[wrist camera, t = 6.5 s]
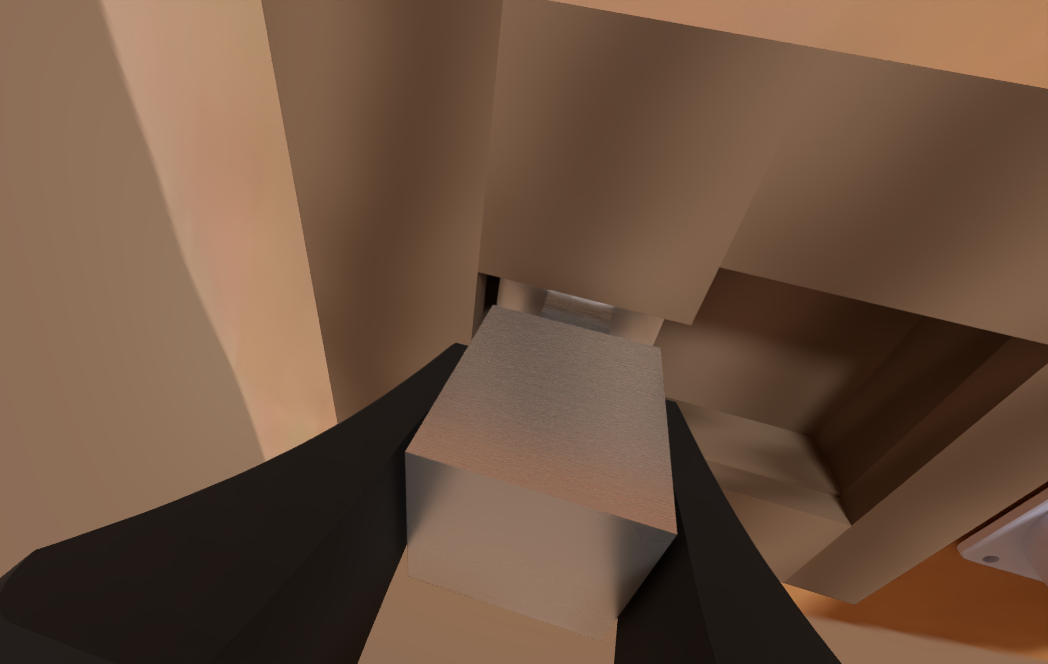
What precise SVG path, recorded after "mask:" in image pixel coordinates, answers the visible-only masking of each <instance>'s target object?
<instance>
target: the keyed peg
mask: <svg viewBox="0 0 1048 664" xmlns="http://www.w3.org/2000/svg"><path fill="white" fill-rule="evenodd" d="M663 321H664V319H663V318H659V317H655V316H651V315H647V314H643V313H639V312H635V311H631V310H627V309H623V308H619V307H615V306H611V305H607V304H603V303H599V302H595V301H591V300H587V299H584V298H580V297H576V296H572V295H568V294H564V293H560V292H556V291H552V290H548V289H544V288H540V287H536V286H532V285H528V284H524V283H520V282H516V281H512V280H508V279H504V278H500V284H499V291H498V298H497V306H496V305H493V306H492V307H491V309H490V311H489V312H488V314H487V316H486V317H485V319H484V321H483V322H482V324H481V326H480V327H479V329H478V331H477V332H476V334H475V336H474V337H473V339H472V341H471V342H470V344H469V346H468V347H467V349H466V351H465V352H464V354H463V356H462V357H461V359H460V361H459V362H458V364H457V366H456V367H455V369H454V371H453V372H452V374H451V376H450V377H449V379H448V381H447V382H446V384H445V386H444V388H443V389H442V391H441V393H440V394H439V396H438V398H437V399H436V401H435V403H434V404H433V406H432V408H431V409H430V411H429V413H428V414H427V416H426V418H425V419H424V421H423V423H422V424H421V426H420V428H419V429H418V431H417V433H416V434H415V436H414V438H413V439H412V441H411V443H410V444H409V446H408V448H407V449H406V451H405V468H406V510H407V548H408V549H407V550H408V551H407V552H408V576H409V577H411V578H414V579H417V580H420V581H423V582H426V583H429V584H432V585H435V586H438V587H441V588H444V589H447V590H450V591H453V592H456V593H459V594H462V595H465V596H468V597H471V598H474V599H477V600H480V601H483V602H486V603H489V604H492V605H495V606H498V607H501V608H504V609H507V610H510V611H513V612H516V613H519V614H521V615H524V616H528V617H530V618H533V619H536V620H539V621H542V622H545V623H549V624H551V625H554V626H557V627H560V628H563V629H566V630H569V631H572V632H575V633H578V634H581V635H584V636H587V637H590V638H593V639H596V640H599V641H601V640H602V638H603V637H604V636H605V634H606V633H607V631H608V630H609V629H610V627H611V626H612V624H613V623H614V621H615V620H616V619H617V618H618V616H619V615H620V613H621V612H622V611H623V609H624V608H625V606H626V605H627V604H628V602H629V601H630V599H631V598H632V597H633V595H634V594H635V592H636V591H637V590H638V588H639V587H640V586H641V584H642V583H643V581H644V580H645V579H646V577H647V576H648V574H649V573H650V572H651V570H652V569H653V567H654V566H655V565H656V563H657V562H658V560H659V559H660V558H661V556H662V555H663V553H664V552H665V551H666V549H667V548H668V546H669V545H670V544H671V542H672V541H673V539H674V538H675V537H676V535H677V526H676V515H675V504H674V493H673V482H672V470H671V459H670V448H669V437H668V426H667V415H666V404H665V393H664V382H663V370H662V359H661V348H659V347H655V346H653V344H654V342H655V340H656V337H657V335H658V333H659V330H660V328H661V326H662V323H663Z"/></svg>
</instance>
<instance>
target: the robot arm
mask: <svg viewBox="0 0 1048 664" xmlns="http://www.w3.org/2000/svg"><path fill="white" fill-rule="evenodd" d="M467 347H468V346H467V345H464V344H460V343H454V344H452V345H451V346H449V347H448V348H447V349H446V350H444V351H443V352H442V353H441V354H439V355H438V356H437V357H436V358H434V359H433V360H432V361H430V362H429V363H428V364H426V365H425V366H424V367H422V368H421V369H420V370H418V371H417V372H416V373H414V374H413V375H412V376H410V377H409V378H408V379H406V380H405V381H403V382H402V383H400V384H399V385H398V386H396V387H395V388H393V389H392V390H391V391H389V392H388V393H386V394H385V395H383V396H382V397H380V398H379V399H377V400H376V401H374V402H372V403H371V404H369V405H368V406H366V407H365V408H363V409H362V410H360V411H358V412H357V413H355V414H354V415H352V416H350V417H349V418H347V419H346V420H344V421H342V422H340V423H339V424H337V425H335V426H334V427H332V428H330V429H328V430H327V431H325V432H323V433H321V434H319V435H317V436H316V437H314V438H312V439H310V440H308V441H306V442H304V443H303V444H301V445H299V446H297V447H295V448H293V449H291V450H289V451H287V452H285V453H283V454H281V455H278V456H276V457H274V458H272V459H270V460H268V461H266V462H264V463H262V464H260V465H258V466H256V467H254V468H251V469H249V470H247V471H245V472H243V473H240V474H238V475H236V476H234V477H232V478H229V479H226V480H224V481H222V482H219V483H217V484H214V485H212V486H210V487H207V488H205V489H202V490H200V491H198V492H195V493H193V494H190V495H188V496H185V497H183V498H181V499H178V500H176V501H173V502H171V503H168V504H165V505H163V506H160V507H158V508H155V509H152V510H150V511H147V512H145V513H142V514H139V515H136V516H134V517H130V518H128V519H125V520H122V521H119V522H116V523H113V524H110V525H108V526H105V527H102V528H99V529H96V530H93V531H91V532H87V533H85V534H82V535H79V536H76V537H73V538H71V539H67V540H64V541H61V542H59V543H56V544H52V545H50V546H47V547H43V548H40V549H37V550H35V551H33V552H32V553H31V554H30V555H28V556H27V557H26V558H24V559H23V560H22V561H21V562H19V563H18V564H17V565H16V566H14V567H13V568H12V569H11V570H10V571H9V572H7V573H6V574H5V575H3V576H2V577H1V578H0V664H358V661H359V659H360V656H361V654H362V651H363V649H364V646H365V643H366V641H367V638H368V636H369V633H370V631H371V629H372V626H373V624H374V621H375V619H376V617H377V614H378V612H379V609H380V607H381V604H382V602H383V599H384V597H385V595H386V592H387V590H388V587H389V585H390V582H391V580H392V578H393V576H394V573H395V571H396V569H397V566H398V564H399V561H400V559H401V557H402V554H403V552H404V550H405V547H406V545H407V510H406V468H405V451H406V449H407V448H408V446H409V444H410V443H411V441H412V439H413V438H414V436H415V434H416V433H417V431H418V429H419V428H420V426H421V424H422V423H423V421H424V419H425V418H426V416H427V414H428V413H429V411H430V409H431V408H432V406H433V404H434V403H435V401H436V399H437V398H438V396H439V394H440V393H441V391H442V389H443V388H444V386H445V384H446V382H447V381H448V379H449V377H450V376H451V374H452V372H453V371H454V369H455V367H456V366H457V364H458V362H459V361H460V359H461V357H462V356H463V354H464V352H465V351H466V349H467ZM665 404H666V415H667V426H668V437H669V448H670V459H671V470H672V482H673V493H674V504H675V515H676V526H677V535H676V537H675V538H674V539H673V541H672V542H671V544H670V545H669V546H668V548H667V549H666V551H665V552H664V553H663V555H662V556H661V558H660V559H659V560H658V562H657V563H656V565H655V566H654V567H653V569H652V570H651V572H650V573H649V574H648V576H647V577H646V579H645V580H644V581H643V583H642V584H641V586H640V587H639V588H638V590H637V591H636V592H635V594H634V595H633V597H632V598H631V599H630V601H629V602H628V604H627V605H626V606H625V608H624V609H623V611H622V612H621V613H620V615H619V616H618V622H617V623H618V624H617V635H616V646H615V660H614V664H841V662H840V661H839V660H838V659H837V657H836V656H835V655H834V654H833V652H832V651H831V650H830V648H829V647H828V646H827V645H826V643H825V642H824V641H823V640H822V638H821V637H820V636H819V635H818V633H817V632H816V631H815V629H814V628H813V627H812V625H811V624H810V623H809V621H808V620H807V619H806V617H805V616H804V615H803V613H802V612H801V611H800V609H799V608H798V607H797V605H796V604H795V602H794V601H793V600H792V598H791V597H790V595H789V594H788V593H787V591H786V590H785V588H784V587H783V585H782V584H781V583H780V581H779V580H778V578H777V577H776V575H775V574H774V573H773V571H772V570H771V568H770V567H769V566H768V564H767V563H766V561H765V560H764V558H763V557H762V555H761V554H760V552H759V551H758V549H757V548H756V546H755V544H754V543H753V541H752V540H751V538H750V537H749V535H748V533H747V532H746V530H745V528H744V527H743V525H742V524H741V522H740V520H739V519H738V517H737V515H736V514H735V512H734V510H733V509H732V507H731V505H730V503H729V502H728V500H727V498H726V497H725V495H724V493H723V491H722V489H721V487H720V486H719V484H718V482H717V480H716V478H715V477H714V475H713V473H712V471H711V469H710V468H709V466H708V464H707V462H706V460H705V458H704V456H703V454H702V452H701V450H700V448H699V446H698V444H697V442H696V441H695V439H694V437H693V435H692V433H691V431H690V429H689V426H688V424H687V422H686V420H685V418H684V416H683V414H682V412H681V410H680V408H679V406H678V405H677V403H676V402H674V401H670V400H667V399H665ZM957 550H958V551H959V553H960V554H961V556H962V557H963V558H964V559H967V560H969V561H973V562H976V563H980V564H983V565H986V566H990V567H993V568H997V569H1000V570H1004V571H1007V572H1011V573H1014V574H1017V575H1021V576H1024V577H1028V578H1031V579H1035V580H1038V581H1042V582H1044V583H1045V584H1046V585H1047V587H1048V488H1047V489H1045V490H1043V491H1042V492H1040V493H1039V494H1037V495H1035V496H1034V497H1032V498H1031V499H1029V500H1027V501H1026V502H1024V503H1023V504H1021V505H1020V506H1018V507H1016V508H1015V509H1013V510H1012V511H1010V512H1008V513H1007V514H1005V515H1004V516H1002V517H1000V518H999V519H997V520H996V521H994V522H993V523H991V524H989V525H988V526H986V527H985V528H983V529H981V530H980V531H978V532H977V533H975V534H974V535H972V536H970V537H969V538H967V539H966V540H964V541H962V542H961V543H960V544H959V545H958V546H957Z"/></svg>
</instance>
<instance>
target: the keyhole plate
mask: <svg viewBox="0 0 1048 664" xmlns="http://www.w3.org/2000/svg"><path fill="white" fill-rule="evenodd" d="M261 1H262V7H263V12H264V18H265V24H266V29H267V35H268V40H269V46H270V51H271V57H272V62H273V68H274V73H275V79H276V85H277V90H278V96H279V101H280V107H281V112H282V118H283V123H284V129H285V134H286V140H287V145H288V151H289V157H290V162H291V168H292V173H293V179H294V184H295V190H296V195H297V201H298V206H299V212H300V217H301V223H302V229H303V234H304V240H305V245H306V251H307V256H308V262H309V267H310V273H311V278H312V284H313V289H314V295H315V301H316V306H317V312H318V317H319V323H320V328H321V334H322V339H323V345H324V350H325V356H326V361H327V367H328V373H329V378H330V384H331V389H332V395H333V400H334V406H335V411H336V417H337V422H338V424H339V423H340V422H342V421H344V420H346V419H347V418H349V417H350V416H352V415H354V414H355V413H357V412H358V411H360V410H362V409H363V408H365V407H366V406H368V405H369V404H371V403H372V402H374V401H376V400H377V399H379V398H380V397H382V396H383V395H385V394H386V393H388V392H389V391H391V390H392V389H393V388H395V387H396V386H398V385H399V384H400V383H402V382H403V381H405V380H406V379H408V378H409V377H410V376H412V375H413V374H414V373H416V372H417V371H418V370H420V369H421V368H422V367H424V366H425V365H426V364H428V363H429V362H430V361H432V360H433V359H434V358H436V357H437V356H438V355H439V354H441V353H442V352H443V351H444V350H446V349H447V348H448V347H449V346H451V345H452V344H454V343H460V344H464V345H467V346H469V344H470V342H471V341H472V339H473V337H474V336H475V334H476V332H477V331H478V329H479V327H480V326H481V324H482V322H483V321H484V319H485V317H486V316H487V314H488V312H489V311H490V309H491V307H492V306H493V305H496V306H497V298H498V291H499V284H500V278H504V279H508V280H512V281H516V282H520V283H524V284H528V285H532V286H536V287H540V288H544V289H548V290H552V291H556V292H560V293H564V294H568V295H572V296H576V297H580V298H584V299H587V300H591V301H595V302H599V303H603V304H607V305H611V306H615V307H619V308H623V309H627V310H631V311H635V312H639V313H643V314H647V315H651V316H655V317H659V318H663V319H664V321H663V323H662V326H661V328H660V330H659V333H658V335H657V337H656V340H655V342H654V344H653V346H655V347H659V348H661V359H662V370H663V382H664V393H665V399H667V400H670V401H674V402H676V403H677V405H678V406H679V408H680V410H681V412H682V414H683V416H684V418H685V420H686V422H687V424H688V426H689V429H690V431H691V433H692V435H693V437H694V439H695V441H696V442H697V444H698V446H699V448H700V450H701V452H702V454H703V456H704V458H705V460H706V462H707V464H708V466H709V468H710V469H711V471H712V473H713V475H714V477H715V478H716V480H717V482H718V484H719V486H720V487H721V489H722V491H723V493H724V495H725V497H726V498H727V500H728V502H729V503H730V505H731V507H732V509H733V510H734V512H735V514H736V515H737V517H738V519H739V520H740V522H741V524H742V525H743V527H744V528H745V530H746V532H747V533H748V535H749V537H750V538H751V540H752V541H753V543H754V544H755V546H756V548H757V549H758V551H759V552H760V554H761V555H762V557H763V558H764V560H765V561H766V563H767V564H768V566H769V567H770V568H771V570H772V571H773V573H774V574H775V575H776V577H777V578H778V580H779V581H780V582H782V583H785V584H789V585H792V586H795V587H798V588H802V589H805V590H808V591H811V592H815V593H818V594H821V595H824V596H828V597H831V598H834V599H837V600H841V601H844V602H847V603H850V604H854V605H855V604H857V603H858V602H860V601H862V600H863V599H865V598H866V597H868V596H869V595H871V594H872V593H874V592H876V591H877V590H879V589H880V588H882V587H883V586H885V585H886V584H888V583H890V582H891V581H893V580H894V579H896V578H897V577H899V576H901V575H902V574H904V573H905V572H907V571H908V570H910V569H911V568H913V567H915V566H916V565H918V564H919V563H921V562H922V561H924V560H926V559H927V558H929V557H930V556H932V555H933V554H935V553H936V552H938V551H940V550H941V549H943V548H944V547H946V546H947V545H949V544H950V543H952V542H954V541H955V540H957V539H958V538H960V537H961V536H963V535H965V534H966V533H968V532H969V531H971V530H972V529H974V528H975V527H977V526H979V525H980V524H982V523H983V522H985V521H986V520H988V519H990V518H991V517H993V516H994V515H996V514H997V513H999V512H1000V511H1002V510H1004V509H1005V508H1007V507H1008V506H1010V505H1011V504H1013V503H1014V502H1016V501H1018V500H1019V499H1021V498H1022V497H1024V496H1025V495H1027V494H1029V493H1030V492H1032V491H1033V490H1035V489H1036V488H1038V487H1039V486H1041V485H1043V484H1044V483H1046V482H1047V481H1048V89H1045V88H1040V87H1034V86H1028V85H1023V84H1017V83H1011V82H1006V81H1000V80H994V79H989V78H983V77H977V76H972V75H966V74H960V73H955V72H949V71H943V70H938V69H932V68H927V67H921V66H915V65H910V64H904V63H898V62H893V61H887V60H881V59H876V58H870V57H864V56H859V55H853V54H847V53H842V52H836V51H830V50H825V49H819V48H813V47H808V46H802V45H797V44H791V43H785V42H780V41H774V40H768V39H763V38H757V37H751V36H746V35H740V34H734V33H729V32H723V31H717V30H712V29H706V28H700V27H695V26H689V25H684V24H678V23H672V22H667V21H661V20H655V19H650V18H644V17H638V16H633V15H627V14H621V13H616V12H610V11H604V10H599V9H593V8H587V7H582V6H576V5H570V4H565V3H559V2H554V1H548V0H261Z"/></svg>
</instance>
